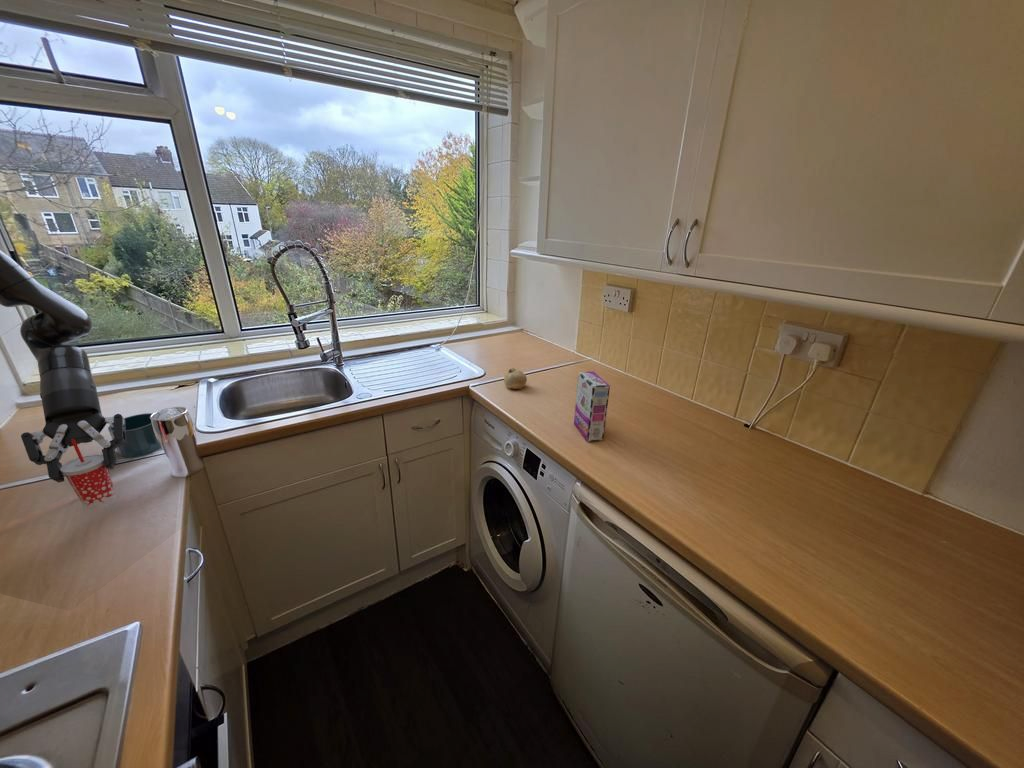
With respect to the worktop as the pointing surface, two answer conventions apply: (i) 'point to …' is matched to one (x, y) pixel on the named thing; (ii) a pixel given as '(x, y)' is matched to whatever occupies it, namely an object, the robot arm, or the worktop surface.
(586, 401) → the candy bar box
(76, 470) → the beverage cup
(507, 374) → the onion
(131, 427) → the teal round pot
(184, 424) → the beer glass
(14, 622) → the worktop surface
